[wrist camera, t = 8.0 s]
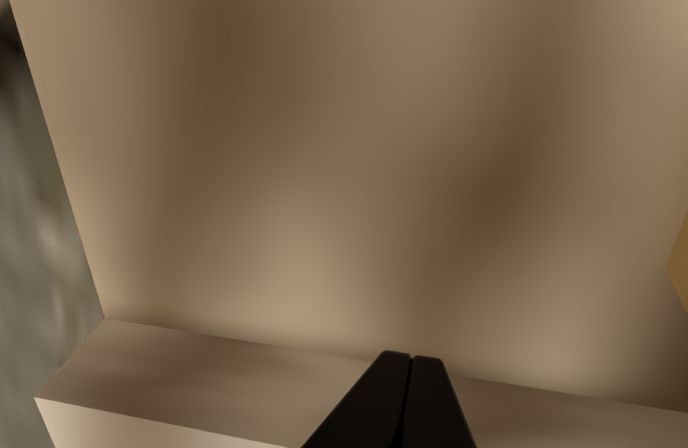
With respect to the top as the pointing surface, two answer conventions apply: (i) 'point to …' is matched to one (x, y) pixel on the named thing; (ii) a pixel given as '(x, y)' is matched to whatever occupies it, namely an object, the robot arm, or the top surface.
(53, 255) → the top surface
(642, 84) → the wooden base tray
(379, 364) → the robot arm
